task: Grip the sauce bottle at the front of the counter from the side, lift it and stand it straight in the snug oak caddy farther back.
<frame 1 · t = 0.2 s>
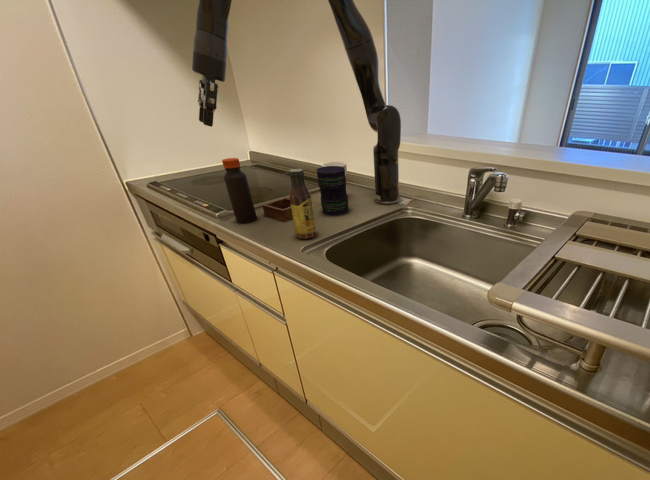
hand: (205, 124, 93), 31 cm above the counter, tool tilted 20°, fingers open, 8 cm apart
vinegar: (247, 220, 120), on the counter
sauce bottle: (307, 236, 107), on the counter
storage jar: (335, 211, 126), on the counter
foam cup: (337, 198, 139), on the counter
caddy: (286, 214, 124), on the counter
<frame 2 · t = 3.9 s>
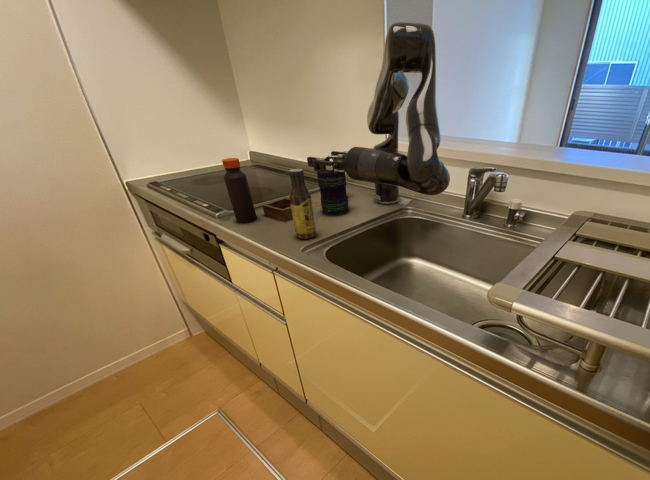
hand: (320, 158, 88), 24 cm above the counter, tool horizontal, fingers open, 8 cm apart
nothing on the counter moved.
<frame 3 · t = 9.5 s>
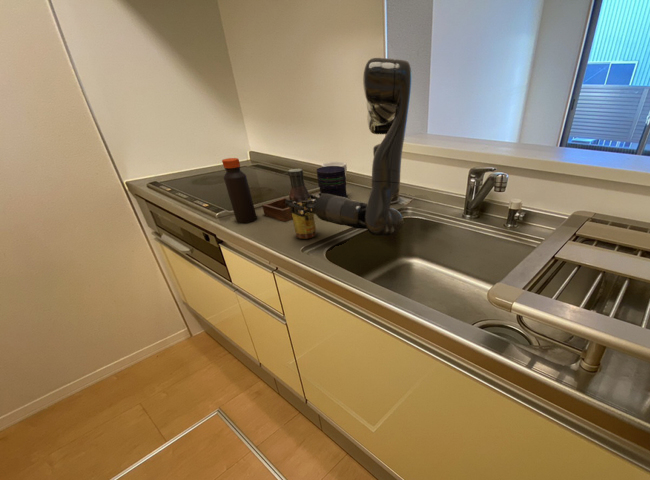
hand: (295, 199, 102), 11 cm above the counter, tool horizontal, fingers closed on sauce bottle, 6 cm apart
sauce bottle: (307, 236, 107), on the counter, touching gripper
everything else where it was.
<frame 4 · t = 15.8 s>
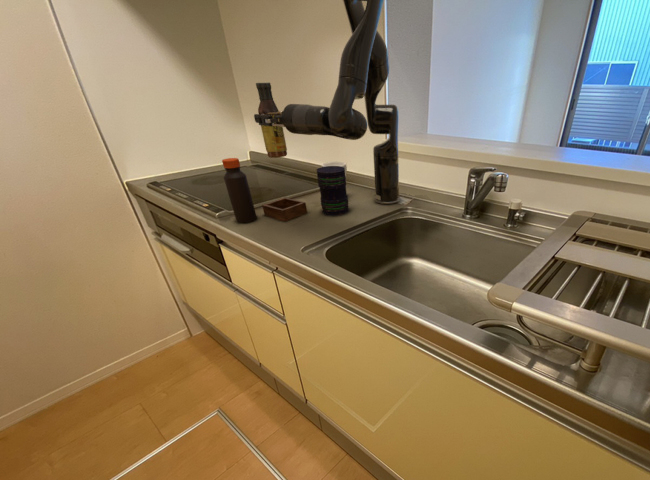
hand: (265, 117, 103), 32 cm above the counter, tool horizontal, fingers closed on sauce bottle, 6 cm apart
sauce bottle: (278, 157, 108), point 20 cm above the counter, touching gripper
everything else where it was.
when the fingers open (11 cm above the counter, at t = 22.4 s): sauce bottle stays where it is, resting on caddy.
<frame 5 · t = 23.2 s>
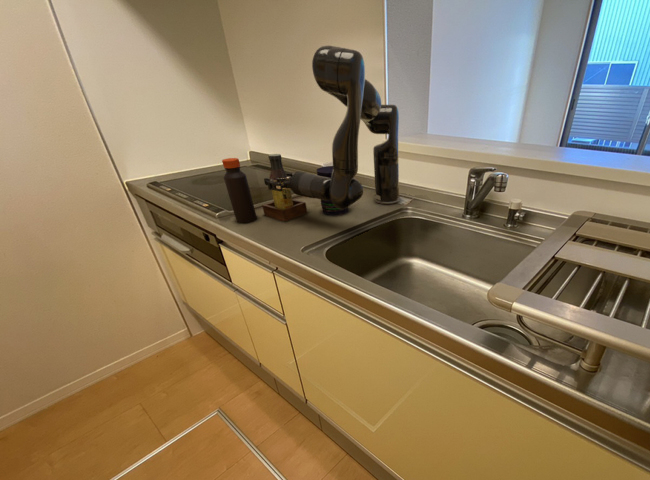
hand: (275, 178, 118), 12 cm above the counter, tool horizontal, fingers open, 8 cm apart
sauce bottle: (286, 213, 123), resting on caddy
everything else where it was.
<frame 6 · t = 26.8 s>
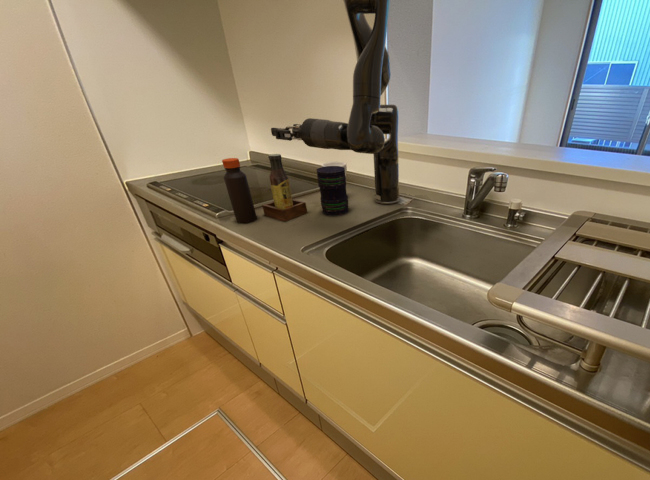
hand: (283, 129, 105), 28 cm above the counter, tool horizontal, fingers open, 8 cm apart
nothing on the counter moved.
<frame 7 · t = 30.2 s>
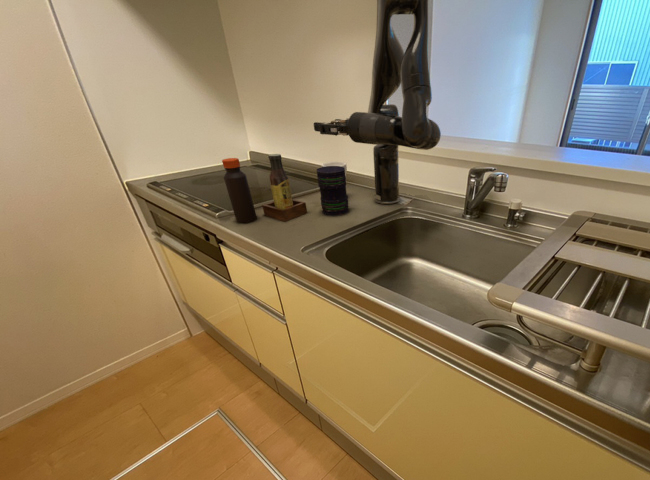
hand: (325, 124, 99), 30 cm above the counter, tool horizontal, fingers open, 8 cm apart
nothing on the counter moved.
at the end: sauce bottle 0.1 cm off-centre in the caddy, point 0.2 cm above the caddy's base; sauce bottle tilted 0°; the gripper is holding nothing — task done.
